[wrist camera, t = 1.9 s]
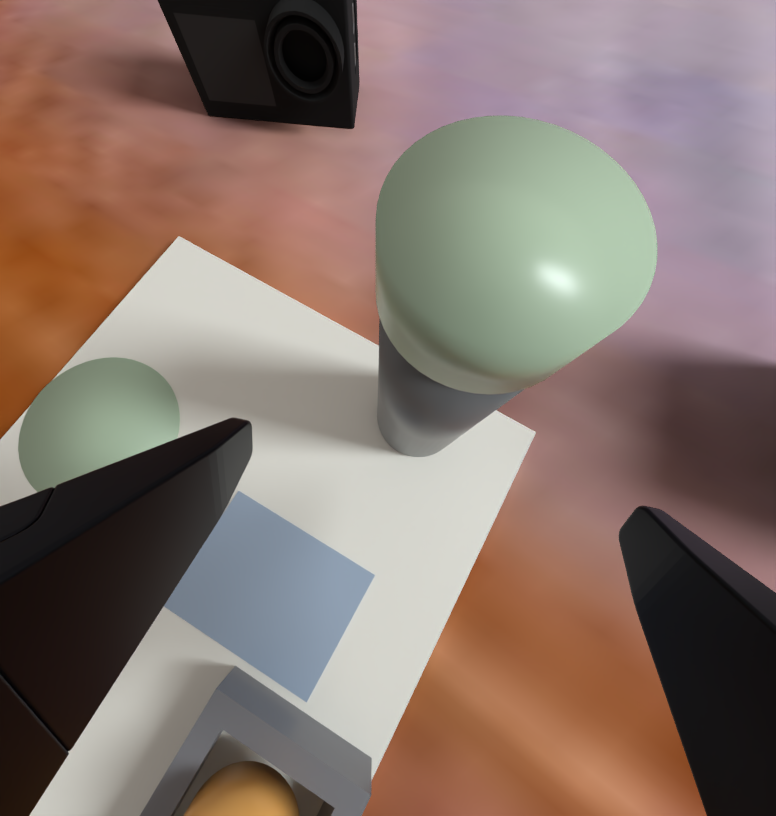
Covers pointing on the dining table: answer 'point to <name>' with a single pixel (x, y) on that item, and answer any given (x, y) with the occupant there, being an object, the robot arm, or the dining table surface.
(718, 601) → the robot arm
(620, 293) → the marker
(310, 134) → the dining table surface
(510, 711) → the dining table surface
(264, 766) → the button
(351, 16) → the digital camera
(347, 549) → the colouring board
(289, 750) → the button housing
